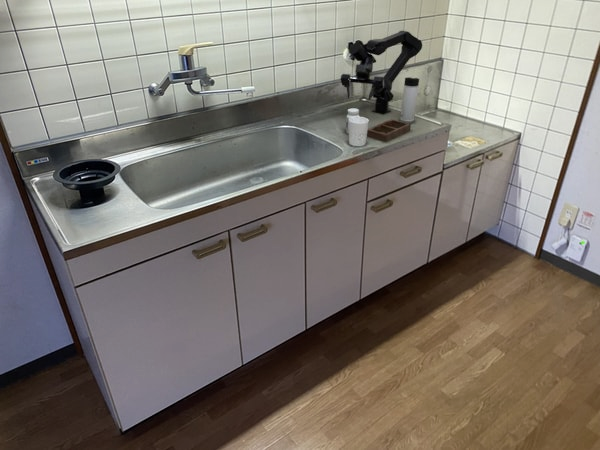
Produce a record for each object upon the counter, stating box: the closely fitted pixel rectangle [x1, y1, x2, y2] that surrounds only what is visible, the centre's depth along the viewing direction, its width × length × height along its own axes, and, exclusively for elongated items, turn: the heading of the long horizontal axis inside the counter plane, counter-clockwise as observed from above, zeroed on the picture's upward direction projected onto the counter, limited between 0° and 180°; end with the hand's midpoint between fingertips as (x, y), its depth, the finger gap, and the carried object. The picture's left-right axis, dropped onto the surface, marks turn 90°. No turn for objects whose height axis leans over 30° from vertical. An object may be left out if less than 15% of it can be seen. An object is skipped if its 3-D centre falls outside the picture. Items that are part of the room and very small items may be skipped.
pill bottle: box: [345, 107, 361, 135], centre depth 198 cm, size 6×6×10 cm
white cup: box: [348, 116, 370, 147], centre depth 187 cm, size 8×8×10 cm
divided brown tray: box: [366, 118, 412, 143], centre depth 199 cm, size 19×10×3 cm, turn 136°
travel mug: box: [399, 77, 420, 124], centre depth 207 cm, size 6×7×20 cm
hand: (358, 98), depth 202 cm, fingers open, 9 cm apart
